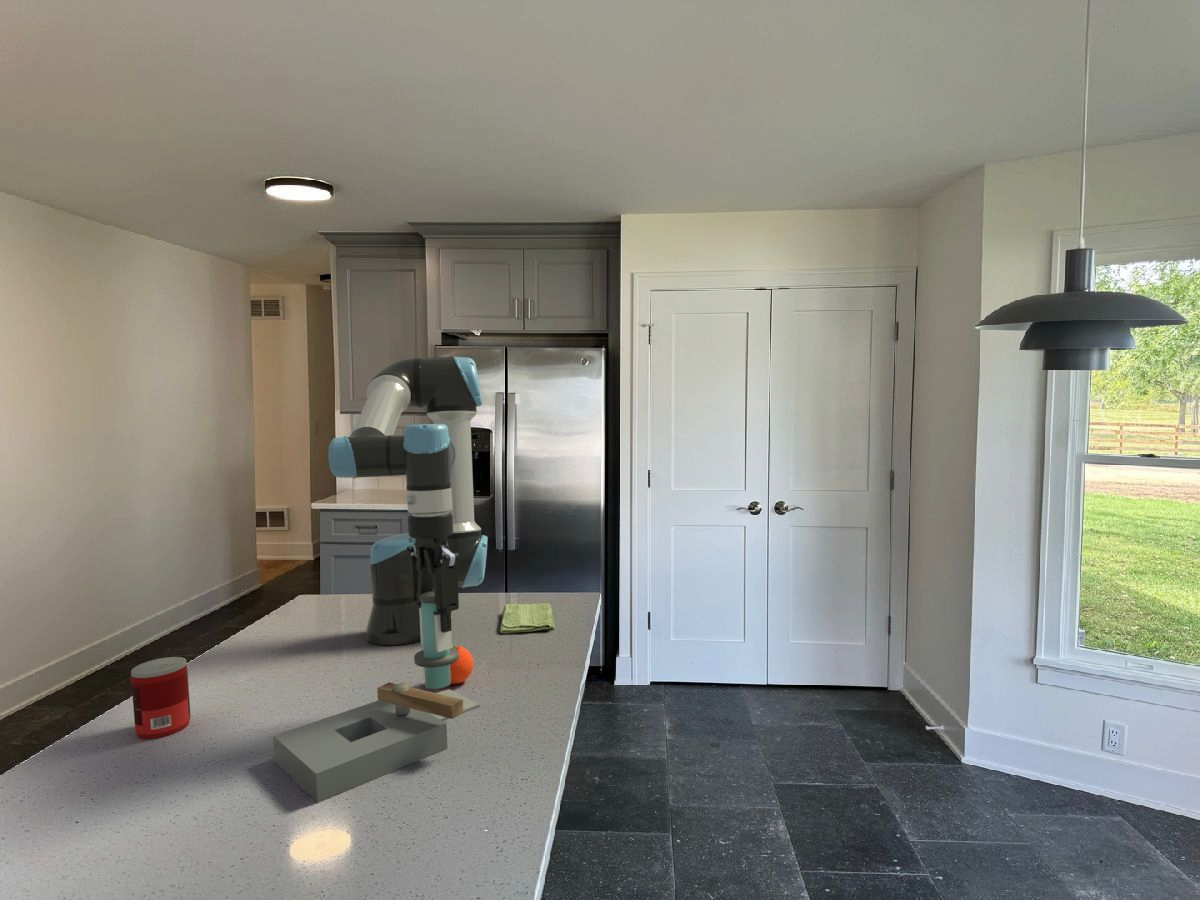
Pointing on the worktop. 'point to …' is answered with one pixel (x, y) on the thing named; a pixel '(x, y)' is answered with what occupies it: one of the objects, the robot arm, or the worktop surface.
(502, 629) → the washcloth
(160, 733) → the canned food
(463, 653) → the clementine
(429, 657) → the plug
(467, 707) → the mat
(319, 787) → the socket block
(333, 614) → the worktop surface
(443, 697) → the brown wooden lever
